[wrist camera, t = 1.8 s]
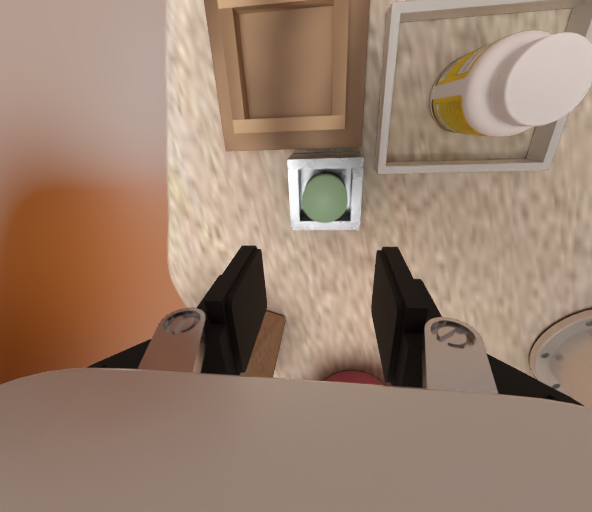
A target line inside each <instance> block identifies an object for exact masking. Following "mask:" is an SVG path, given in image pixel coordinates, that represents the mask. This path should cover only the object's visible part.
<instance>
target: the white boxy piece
mask: <svg viewBox="0 0 592 512" xmlns="http://www.w3.org/2000/svg"><path fill="white" fill-rule="evenodd" d="M287 163H288V182H289V201H290V220H291V230H360V215H361V200H362V184H363V168H364V157H363V155H362V154H361V153H360V151H358V152H325V153H293V154H292V155H291V156H290V157H289V158H288V159H287ZM322 172H329V173H333V174H335V175H337V176H339V177H340V178H341V179H342V181H343V182H344V184H345V187H346V191H347V197H348V204H347V208H346V210H345V212H344V213H343V215H342V216H341V217H340V218H338V219H337V220H335V221H333V222H329V223H320V222H316V221H314V220H312V219H311V218H310V217H308V216H307V214H306V213H305V211H304V209H303V207H302V195H303V192H304V189H305V186H306V184H307V182H308V181H309V180H310V179H311V178H312V177H313V176H314V175H316V174H318V173H322Z"/></svg>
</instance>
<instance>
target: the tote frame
mask: <svg viewBox="0 0 592 512" xmlns="http://www.w3.org/2000/svg"><path fill="white" fill-rule="evenodd" d="M565 8H572V12H571V15H570V18H569V21H568V25H567V28H566V31H565V32H572V33H577V34H579V35H582V36H584V37H585V38H586V39H588V40H589V41H590V42H591V44H592V0H416V1H405V2H394V3H392V4H391V6H390V8H389V10H388V12H387V15H386V28H385V40H384V52H383V65H382V77H381V90H380V102H379V115H378V127H377V140H376V152H375V165H374V170H375V171H376V173H377V174H398V173H446V172H493V171H541V170H549V169H550V166H551V163H552V160H553V157H554V154H555V152H556V149H557V146H558V143H559V140H560V137H561V134H562V132H563V129H564V126H565V123H566V120H567V117H568V114H569V113H568V114H566V115H565V116H563V117H562V118H560V119H558V120H556V121H554V122H552V123H549V124H546V125H541V126H536V128H535V131H534V135H533V138H532V141H531V144H530V147H529V151H528V154H527V157H526V159H497V160H458V161H419V162H386V157H387V147H388V137H389V126H390V116H391V106H392V96H393V85H394V75H395V65H396V55H397V44H398V34H399V24H400V22H410V21H422V20H434V19H446V18H458V17H469V16H481V15H493V14H505V13H517V12H529V11H541V10H553V9H565Z"/></svg>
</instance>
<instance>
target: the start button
mask: <svg viewBox="0 0 592 512" xmlns="http://www.w3.org/2000/svg"><path fill="white" fill-rule="evenodd" d="M347 204H348V197H347V191H346V187H345V184H344V182H343V181H342V179H341V178H340V177H339V176H337V175H335V174H333V173H329V172H322V173H318V174H316V175H314V176H313V177H312V178H311V179H310V180H309V181H308V182H307V184H306V186H305V189H304V192H303V195H302V207H303V209H304V211H305V213H306V214H307V216H308V217H310V218H311V219H312V220H314V221H316V222H320V223H329V222H333V221H335V220H337V219H338V218H340V217H341V216H342V215H343V213H344V212H345V210H346V208H347Z"/></svg>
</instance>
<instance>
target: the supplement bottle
mask: <svg viewBox="0 0 592 512" xmlns="http://www.w3.org/2000/svg"><path fill="white" fill-rule="evenodd" d="M591 84H592V44H591V42H590V41H589V40H588V39H586V38H585V37H584V36H582V35H579V34H577V33H572V32H561V33H556V34H551V33H548V32H545V31H540V30H529V31H522V32H518V33H515V34H512V35H509V36H507V37H505V38H502V39H500V40H498V41H496V42H494V43H492V44H489V45H487V46H485V47H483V48H480V49H478V50H476V51H474V52H472V53H469V54H467V55H465V56H463V57H461V58H459V59H457V60H456V61H454V62H453V63H451V64H450V65H449V66H448V67H446V68H445V69H444V71H443V72H442V73H441V74H440V75H439V77H438V78H437V80H436V82H435V84H434V86H433V89H432V92H431V97H430V109H431V113H432V116H433V118H434V120H435V122H436V123H437V124H438V125H439V126H440V127H442V128H443V129H445V130H447V131H451V132H455V133H464V134H472V135H481V136H492V137H505V136H512V135H516V134H519V133H521V132H524V131H526V130H528V129H530V128H532V127H533V126H541V125H546V124H549V123H552V122H554V121H556V120H558V119H560V118H562V117H563V116H565V115H566V114H568V113H569V112H570V111H572V110H573V109H574V108H575V107H576V106H577V105H578V104H579V103H580V101H581V100H582V99H583V98H584V96H585V95H586V94H587V92H588V90H589V89H590V86H591Z"/></svg>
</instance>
